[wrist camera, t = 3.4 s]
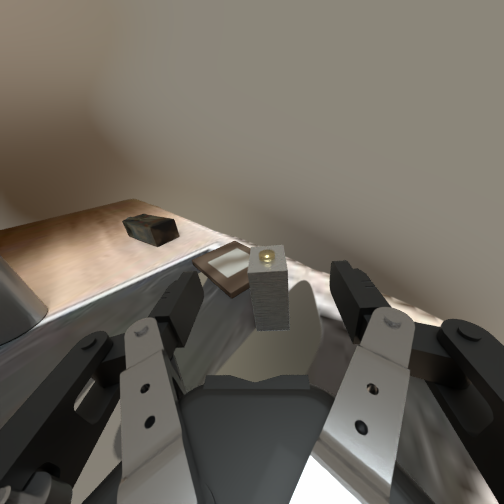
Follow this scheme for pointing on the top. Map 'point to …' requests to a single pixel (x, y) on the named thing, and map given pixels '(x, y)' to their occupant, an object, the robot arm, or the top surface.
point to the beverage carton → (151, 229)
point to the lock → (269, 287)
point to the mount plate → (226, 267)
